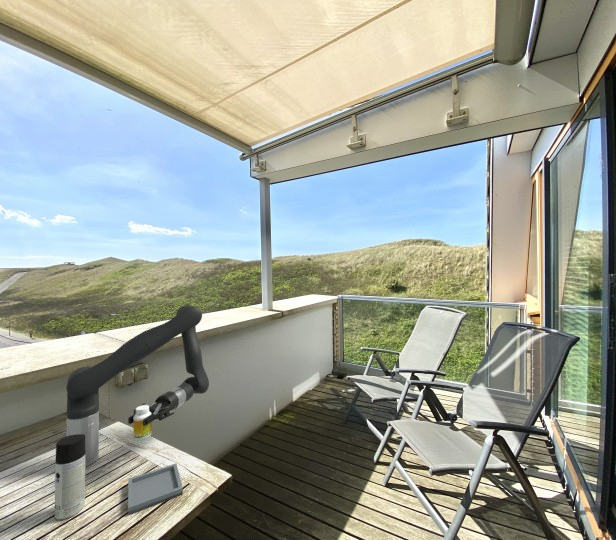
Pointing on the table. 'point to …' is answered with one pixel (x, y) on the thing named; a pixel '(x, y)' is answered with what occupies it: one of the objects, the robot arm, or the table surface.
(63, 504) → the spray can
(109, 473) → the table surface
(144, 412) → the supplement bottle
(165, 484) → the tray
